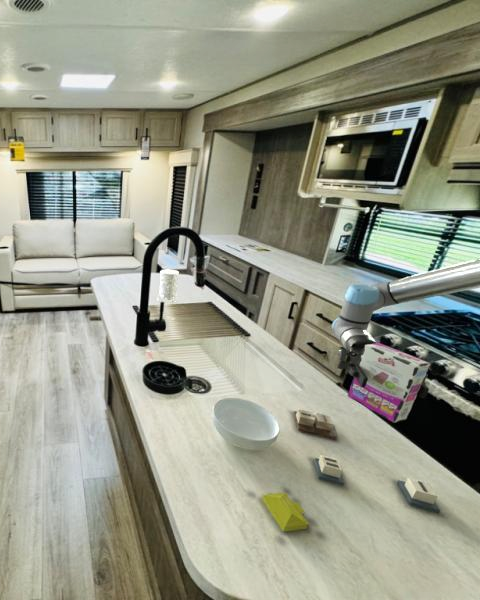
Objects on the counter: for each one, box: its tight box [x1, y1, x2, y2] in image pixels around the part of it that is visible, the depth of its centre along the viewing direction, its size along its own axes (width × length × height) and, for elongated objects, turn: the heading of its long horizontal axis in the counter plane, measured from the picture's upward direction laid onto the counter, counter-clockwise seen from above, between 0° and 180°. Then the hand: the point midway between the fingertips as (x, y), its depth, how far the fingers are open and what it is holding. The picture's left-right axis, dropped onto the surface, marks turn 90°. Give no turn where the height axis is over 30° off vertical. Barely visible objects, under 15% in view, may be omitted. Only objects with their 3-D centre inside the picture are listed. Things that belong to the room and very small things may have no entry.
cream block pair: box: [292, 408, 337, 441], centre depth 92 cm, size 9×8×4 cm
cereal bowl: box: [211, 397, 281, 451], centre depth 89 cm, size 17×17×7 cm
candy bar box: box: [347, 342, 432, 423], centre depth 79 cm, size 11×5×16 cm, turn 17°
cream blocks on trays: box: [312, 454, 441, 514], centre depth 75 cm, size 22×6×4 cm, turn 66°
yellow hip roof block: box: [256, 491, 322, 541], centre depth 69 cm, size 10×9×3 cm
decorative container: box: [157, 268, 180, 304], centre depth 189 cm, size 12×12×18 cm
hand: (393, 388), depth 75 cm, fingers closed on candy bar box, 10 cm apart
